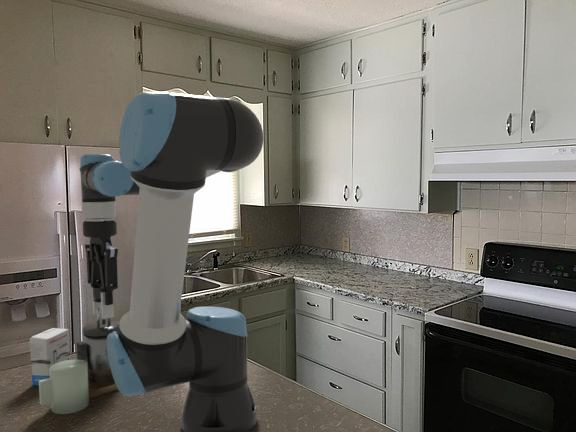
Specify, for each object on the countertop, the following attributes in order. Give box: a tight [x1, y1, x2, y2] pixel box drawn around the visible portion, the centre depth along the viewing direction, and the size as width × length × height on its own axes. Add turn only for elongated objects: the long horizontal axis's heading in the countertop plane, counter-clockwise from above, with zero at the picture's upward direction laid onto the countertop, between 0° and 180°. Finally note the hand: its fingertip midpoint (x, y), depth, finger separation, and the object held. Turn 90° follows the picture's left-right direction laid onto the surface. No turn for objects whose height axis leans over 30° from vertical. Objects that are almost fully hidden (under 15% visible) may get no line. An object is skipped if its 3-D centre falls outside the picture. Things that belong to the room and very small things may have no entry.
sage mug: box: [38, 358, 90, 415], centre depth 106 cm, size 8×10×9 cm
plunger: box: [92, 286, 107, 325], centre depth 119 cm, size 4×4×9 cm
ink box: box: [29, 327, 71, 387], centre depth 121 cm, size 9×5×12 cm, turn 168°
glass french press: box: [76, 308, 120, 399], centre depth 119 cm, size 13×13×18 cm
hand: (103, 315), depth 119 cm, fingers closed on plunger, 4 cm apart
